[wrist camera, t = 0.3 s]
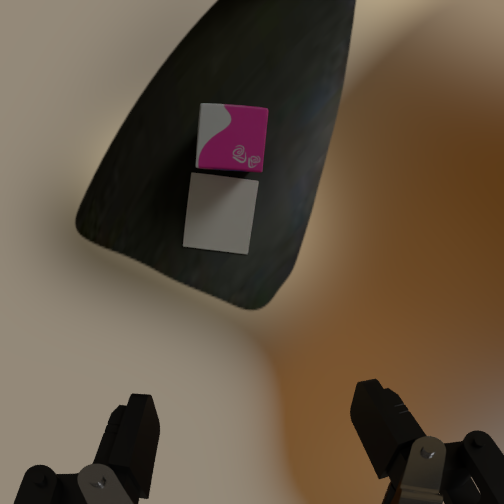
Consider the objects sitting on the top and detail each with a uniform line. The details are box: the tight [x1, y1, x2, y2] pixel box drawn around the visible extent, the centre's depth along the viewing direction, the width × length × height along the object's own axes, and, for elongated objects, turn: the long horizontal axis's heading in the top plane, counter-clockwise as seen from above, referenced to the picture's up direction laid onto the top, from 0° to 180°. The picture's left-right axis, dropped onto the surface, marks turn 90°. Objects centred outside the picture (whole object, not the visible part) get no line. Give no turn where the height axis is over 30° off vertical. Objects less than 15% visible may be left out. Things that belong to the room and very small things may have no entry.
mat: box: [183, 173, 259, 254], centre depth 36 cm, size 9×8×1 cm
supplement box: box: [196, 103, 268, 172], centre depth 29 cm, size 6×6×12 cm
